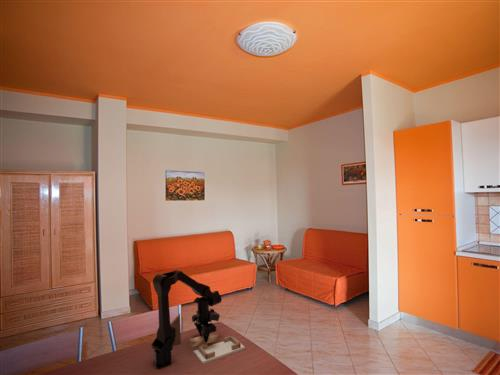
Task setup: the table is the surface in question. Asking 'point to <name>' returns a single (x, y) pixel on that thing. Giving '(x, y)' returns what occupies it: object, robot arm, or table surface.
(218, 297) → the robot arm
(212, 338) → the slat
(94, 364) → the table surface
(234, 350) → the slat board
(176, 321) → the wooden block
